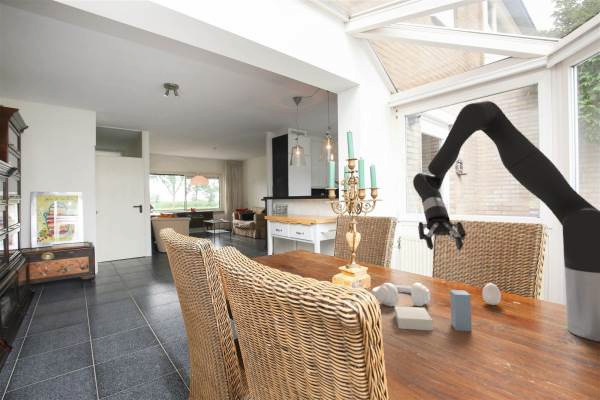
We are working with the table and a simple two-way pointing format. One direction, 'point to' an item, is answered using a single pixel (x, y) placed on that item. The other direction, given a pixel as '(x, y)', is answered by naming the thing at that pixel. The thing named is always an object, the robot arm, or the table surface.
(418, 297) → the headphones
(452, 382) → the table surface
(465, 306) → the pillar
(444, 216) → the robot arm
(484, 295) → the egg
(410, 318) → the base
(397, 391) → the table surface
